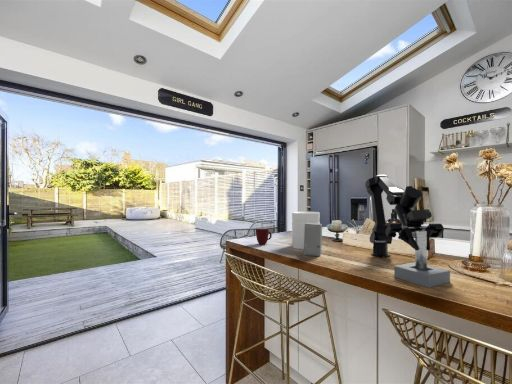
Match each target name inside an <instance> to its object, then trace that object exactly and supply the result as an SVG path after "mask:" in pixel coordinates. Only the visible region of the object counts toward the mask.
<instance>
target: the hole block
mask: <svg viewBox="0 0 512 384" xmlns="http://www.w3.org/2000/svg"><path fill="white" fill-rule="evenodd" d="M393 267H394V275H393V276H394V278H397V279H400V280H403V281H405V282H410V283H413V284H416V285H419V286H422V287H425V288H428V289H429V288H434V287H437V286H441V285H444V284H448V283H451V270H449V269H445V268H441V267H438V266H437V267H436V266H433V265H429V264H427V269H420V268H416V267H415V261H413V262H407V263H403V264H398V265H394V266H393Z"/></svg>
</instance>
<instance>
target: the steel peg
mask: <svg viewBox="0 0 512 384" xmlns="http://www.w3.org/2000/svg"><path fill="white" fill-rule="evenodd" d="M414 240H415V242H416V244H417V246H418V250H415V249H414V255H415V257H414V259H415V260H414V262H415V267H416V268H420V269H427V265H428V250H427V231H422V230H415V233H414Z"/></svg>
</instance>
